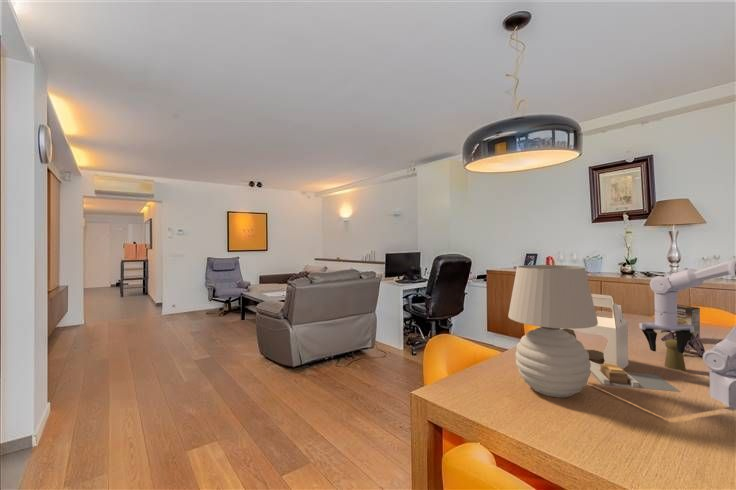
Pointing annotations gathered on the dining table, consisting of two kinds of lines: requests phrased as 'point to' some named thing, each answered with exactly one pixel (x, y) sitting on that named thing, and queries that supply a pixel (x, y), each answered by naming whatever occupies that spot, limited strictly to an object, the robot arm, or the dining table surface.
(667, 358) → the cork
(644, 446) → the dining table surface
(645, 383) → the board
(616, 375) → the wooden box
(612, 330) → the gable box
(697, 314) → the food box
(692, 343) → the decorative flower
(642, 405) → the dining table surface
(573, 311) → the table lamp
